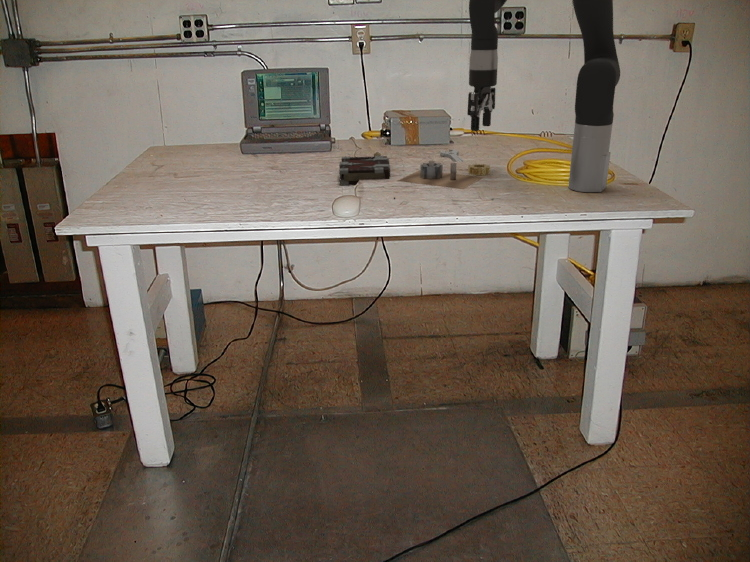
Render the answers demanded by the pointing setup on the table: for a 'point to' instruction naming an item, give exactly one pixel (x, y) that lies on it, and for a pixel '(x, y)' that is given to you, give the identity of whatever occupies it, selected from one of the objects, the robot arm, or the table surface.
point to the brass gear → (479, 169)
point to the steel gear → (431, 171)
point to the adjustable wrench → (452, 155)
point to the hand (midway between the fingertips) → (480, 128)
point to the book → (363, 168)
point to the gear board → (443, 179)
